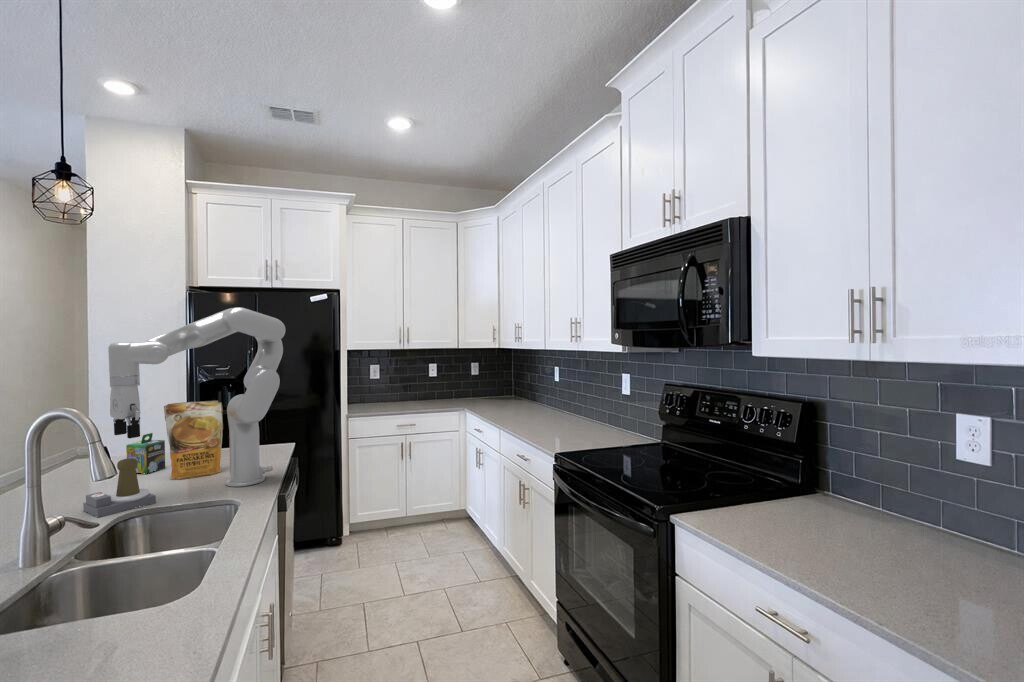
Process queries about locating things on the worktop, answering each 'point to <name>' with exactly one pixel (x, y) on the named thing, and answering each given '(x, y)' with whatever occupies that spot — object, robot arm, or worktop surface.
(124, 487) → the cork
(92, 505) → the kitchen scale
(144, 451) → the chalk box
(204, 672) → the worktop surface
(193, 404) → the pancake mix bag
